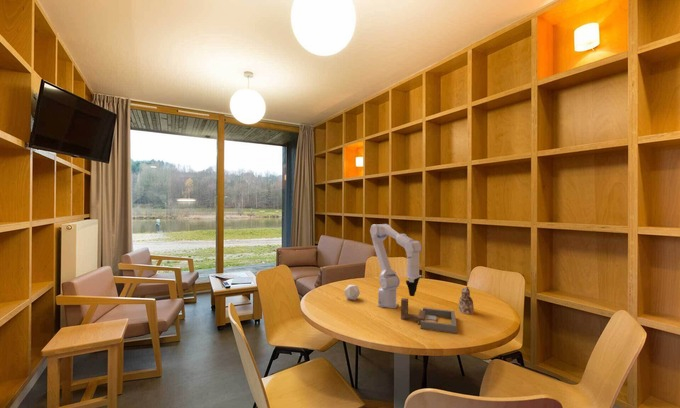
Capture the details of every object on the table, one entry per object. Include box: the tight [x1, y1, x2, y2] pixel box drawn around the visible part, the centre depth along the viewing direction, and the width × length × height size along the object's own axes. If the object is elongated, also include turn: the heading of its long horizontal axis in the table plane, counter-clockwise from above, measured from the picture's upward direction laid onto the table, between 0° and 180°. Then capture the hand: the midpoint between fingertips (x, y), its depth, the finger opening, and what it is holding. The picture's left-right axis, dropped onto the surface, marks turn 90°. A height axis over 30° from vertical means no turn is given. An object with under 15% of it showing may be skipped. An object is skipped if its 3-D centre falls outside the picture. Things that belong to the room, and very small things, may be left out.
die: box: [343, 284, 361, 301], centre depth 168 cm, size 8×9×10 cm
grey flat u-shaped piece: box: [420, 307, 458, 334], centre depth 134 cm, size 14×19×3 cm
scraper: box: [400, 297, 425, 326], centre depth 138 cm, size 10×11×9 cm
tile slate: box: [424, 315, 437, 322], centre depth 138 cm, size 5×5×2 cm
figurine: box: [457, 286, 475, 315], centre depth 149 cm, size 7×7×12 cm
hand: (412, 293), depth 144 cm, fingers open, 7 cm apart
